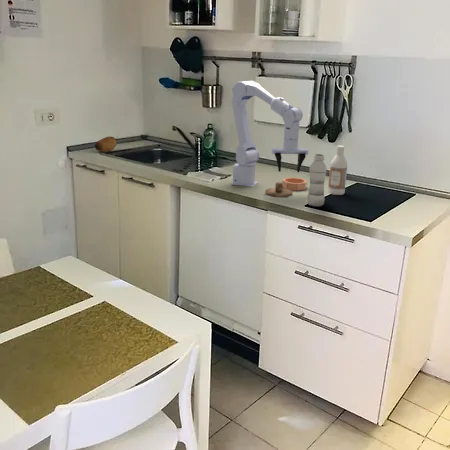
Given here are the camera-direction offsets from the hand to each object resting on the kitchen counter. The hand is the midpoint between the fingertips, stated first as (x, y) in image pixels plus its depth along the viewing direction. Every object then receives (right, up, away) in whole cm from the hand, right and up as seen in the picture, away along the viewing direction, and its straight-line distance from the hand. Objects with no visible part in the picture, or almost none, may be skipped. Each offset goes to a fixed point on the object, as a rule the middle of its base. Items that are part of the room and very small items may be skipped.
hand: (288, 171), depth 217 cm
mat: (-4, -9, +1) cm, 10 cm away
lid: (-4, -9, +1) cm, 10 cm away
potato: (-92, +18, +74) cm, 119 cm away
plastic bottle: (+9, -15, -13) cm, 21 cm away
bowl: (+4, -6, +11) cm, 13 cm away
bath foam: (+21, -9, +6) cm, 23 cm away
